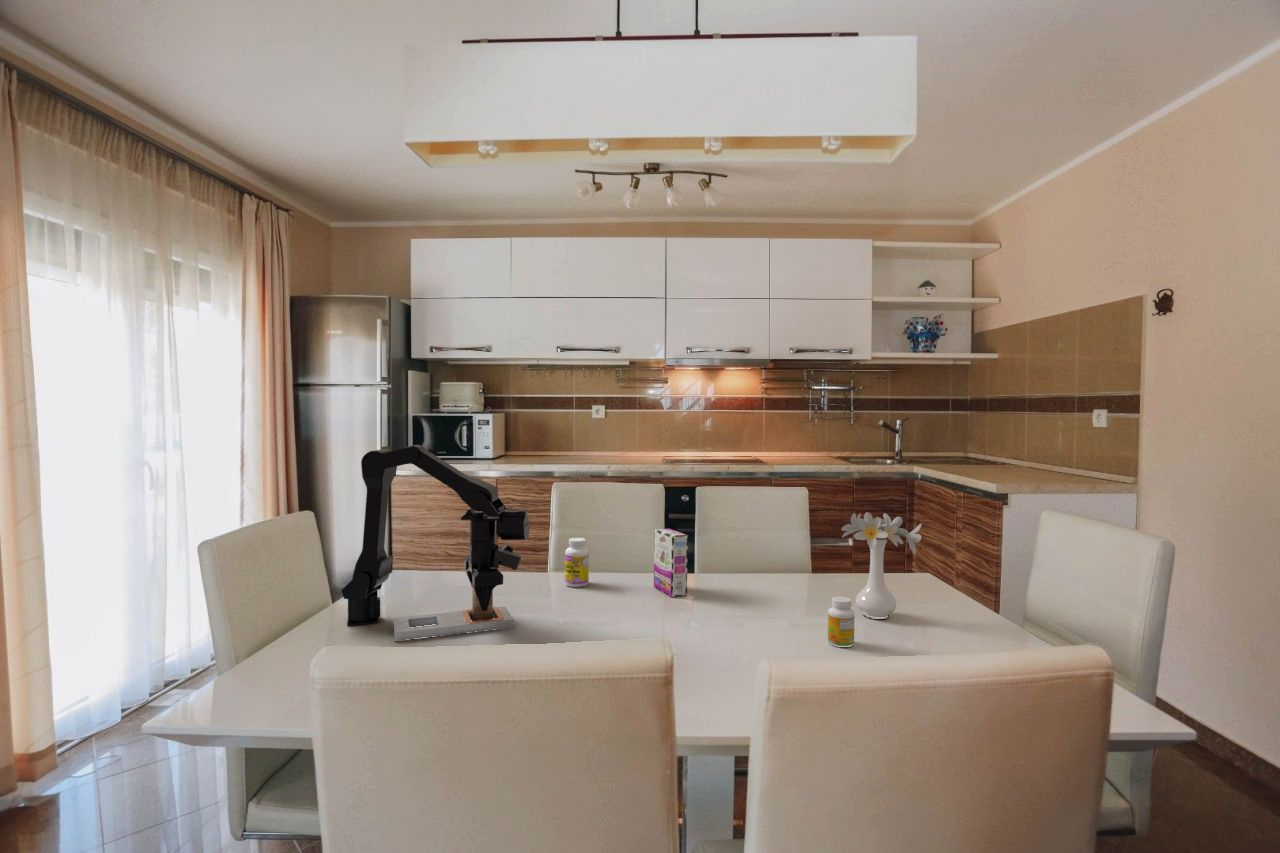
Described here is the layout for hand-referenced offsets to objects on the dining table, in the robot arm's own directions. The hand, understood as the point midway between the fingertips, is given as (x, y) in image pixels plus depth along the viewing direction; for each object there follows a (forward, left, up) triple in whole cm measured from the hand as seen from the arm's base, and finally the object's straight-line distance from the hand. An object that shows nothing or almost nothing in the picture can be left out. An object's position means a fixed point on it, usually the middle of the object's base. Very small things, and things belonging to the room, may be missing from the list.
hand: (482, 606), depth 148 cm
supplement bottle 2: (+70, -39, -4) cm, 80 cm away
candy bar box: (+52, +9, -4) cm, 52 cm away
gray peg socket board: (-6, 0, -4) cm, 8 cm away
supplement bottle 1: (+30, +24, -4) cm, 38 cm away
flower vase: (+91, -27, -4) cm, 95 cm away
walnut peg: (0, 0, -4) cm, 4 cm away
